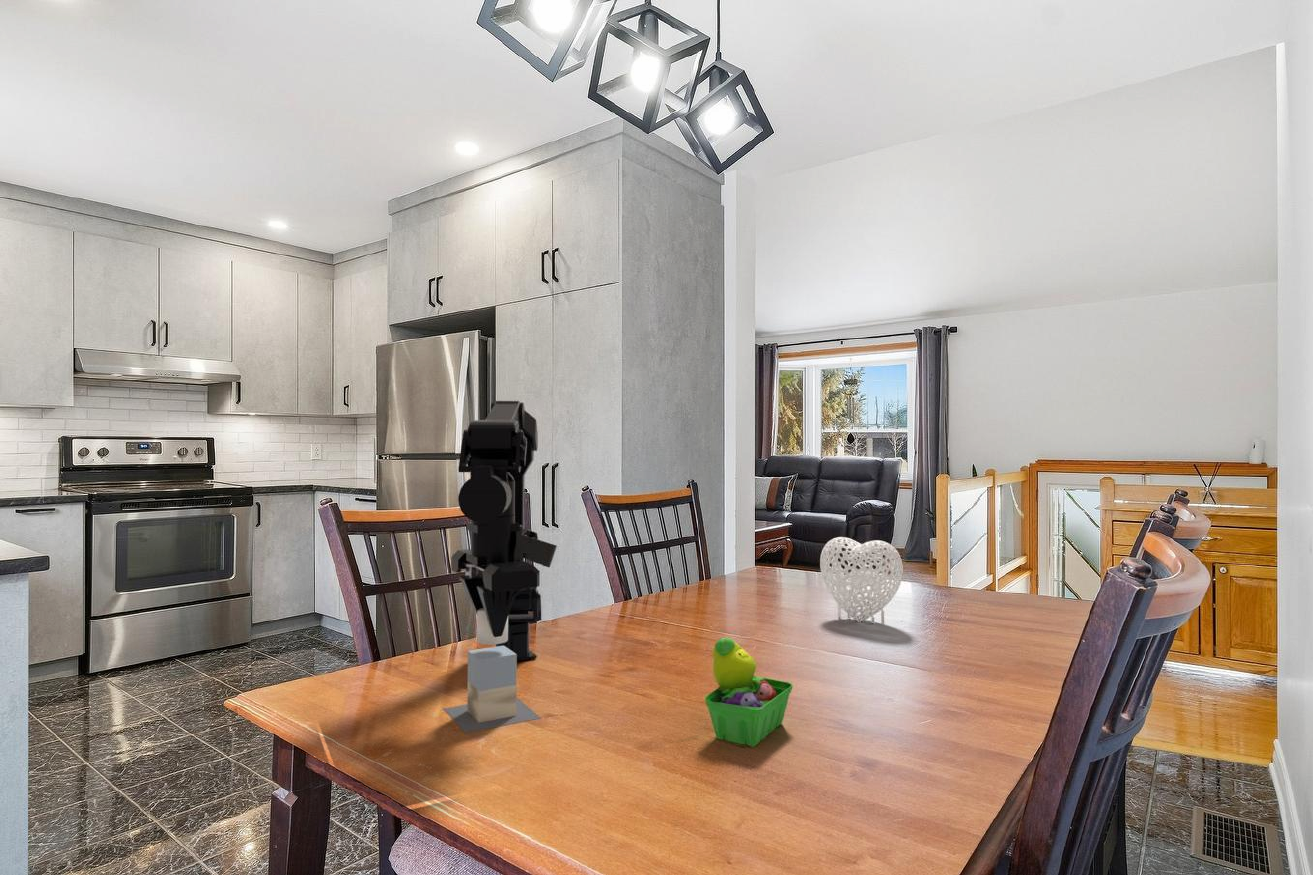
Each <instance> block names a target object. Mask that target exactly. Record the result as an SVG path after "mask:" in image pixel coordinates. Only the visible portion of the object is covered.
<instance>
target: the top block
mask: <svg viewBox="0 0 1313 875" xmlns="http://www.w3.org/2000/svg"><path fill="white" fill-rule="evenodd" d="M517 662H518V661H517V654H516V653H514V652H513V651H511V650H510V649H508V648H507V647H505V646H497V647H495V646H492V647H484V648H479V649H478V648H477V649H471V650H467V683H468V682H470V683H471V684H472V685H473V686H474V687H475V688H476V689H477V690H478V691H484V690H490V689H495V688H501V687H507V686H513V685H517V683H518V682H517V678H518V676H517V674H518V673H517V672H518V671H517V669H518V668H517Z"/></svg>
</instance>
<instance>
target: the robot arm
mask: <svg viewBox="0 0 1313 875" xmlns="http://www.w3.org/2000/svg"><path fill="white" fill-rule="evenodd" d="M538 434H539V433H538V425H537V420H536V418H535V417H534V416H533V415H531V414H530V413H529V412H528V411H526V409H525V404H524V402H521V401H520V400H496V401H495V402H494V401H493V402H491V404H490V412H489V413H488V415H487V417H486V418H485V419H475V420H471V421H470V422H469V423H468V426H467V429H464V430H463V432H462V440H461V447H460V455H459V461H458V470H457V471H458V473H470V478H469V479H467V481H465V482H464V483H463V484H462V487H460V490H459V492H458V498H457V500H458V506H459V509H460V511H461V513H462V514H463V516H465V517H466V518H467V519H468V520H470V522H468V521H467V522H466V531H469V532H470V548H469V549H457V550H456V552H455V553H454V554H453V555H452V556H451V557H450V558H451V565H450V566H451V568H450V570H451V571H452V572H454V573H457V574H459V573H461V572H462V570H465V572H464V573H465V574H464V575H460V576H459V581H460V582H461V584H462V586H463V587H464V590H465V593H466V595H467V596H468V598H469V600H470V603H471V605H472V607H473V610H474V613H475V614H476V615H477V611H478V610H479V609H482V608H484V610H485V613H486V616H487V619H488V622H489V626H490V628H491V631H492V634H493V636H494V637H500V636H502V635H503V631H504V628H505V624H506V621H507V618H508V641H507V642H504V643H501V644H494V645H495V646H494V647H497V646H505V647H507V648H508V649H510V650H511V651H513V652H514V653H516V654H517V662H520V661H526V660H532V659H533V660H534V659H537V657H538V656H537V654H536V653H534V652H533V651H531V650H530V636H531V634H530V632H531V631H530V630H531V628H530V625H531V624H537V622H539V621H542V595H541V594H540V593H539V590H538V588H539V587H540V586H541V585H540V583H541V582H540V578H541V577H540V575H541V574H540V572H541V571H540V570H539V569H538V568H537V567H536V566H535V565H534V564H533V563H535V564H538V565H541V566H543V567H547V568H550V567H551V565H552V562H553V559H554V557H555V554H556V550H557V547H558V546H557V545H556V544H553V543H551V542H547V541H543V540H540V539H538V533H537V532H536V531H532V530H530V529H526V528H525V478H526V477H525V475H526V474H527V472H528V470H529V468H530V467H531V465H532V463H533V461H534V459H535V452H537V451H538V445H539V444H538V442H539V441H538V440H539V435H538ZM525 560H529V562H532V563H529V562H526V561H525ZM531 612H532V613H531ZM530 623H531V624H530Z"/></svg>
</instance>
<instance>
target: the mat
mask: <svg viewBox="0 0 1313 875" xmlns="http://www.w3.org/2000/svg"><path fill="white" fill-rule="evenodd" d="M443 710H444V711H445V712H446V714H448V715H449V717H450V718H451V719H452V720H453V722H455V724H456V725H457V726H458V727H459V728H460V729H461V730H462V731H463V733H464V734H465V735H466V734H471V733H474V732H481V731H486V730H490V729H495V728H500V727H505V726H510V725H515V724H520V723H524V722H529V721H534V720H541V719H542V717H541V716H540V715H538V714H537V712H536V711H534V710H532V709H531V708H530V707H529V706H528V705H526V704H525V703H524V702H523V701H522V700H520V698H518V697H517V696H516V716H511V717H506V718H501V719H496V720H491V721H486V722H481V723H479V722H478V721H477V720H476V719H475V718H474V717H473V716H472V715H471V714H470V713H469V712H468V711H467V703H466V704H462V705H455V706H450V707H446V708H443Z"/></svg>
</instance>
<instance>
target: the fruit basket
mask: <svg viewBox="0 0 1313 875" xmlns="http://www.w3.org/2000/svg"><path fill="white" fill-rule="evenodd" d="M712 658H713V666H712V667H713V668H712V672H713V677H714V679H715V682H716V683H717V685H718V686H719V687H717V688H716V689H715V690H713V691H712V692H710V693H708V694H707V695H706V696H704V698H703V699H704V700H705V704H706V707H707V709H708V712H709V716H710V719H711V722H712V726H713V729H714V733H715V734H714V735H715V737H716V739H719V740H725V741H728V742H731V743H735V744H739V745H747V746H749V747H756V746H757V745H758V744H759V743H760V741H763V740H764V739H765V738H766V737H767V736H768V735H769V734H771V733H772V732H773V731H774V730H776V728H778V727H779V726H781V725H782V723H783V720H784V717H785V712H786V710H787V705H788V701H789V697H790V695H791V693H792V690H793V687H794V684H793V683H792V682H789V681H784V680H780V679H779V680H778V679H774V678H773V679H772V678H768V677H762V676H757V675H755V672H756V669H757V662H756V661H755V659H754V657H753V656H751V655H750V654H749V653H748V652H747V651H746V650H745V649H744V648H742V647H741V646H740V645H739V644H738V643H737V642H735V641H734V640H733V639H732V638H729V637H723V638H721V637H720V638H718V639H717V641H716V642H715V643H714V648H713V651H712Z"/></svg>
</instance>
